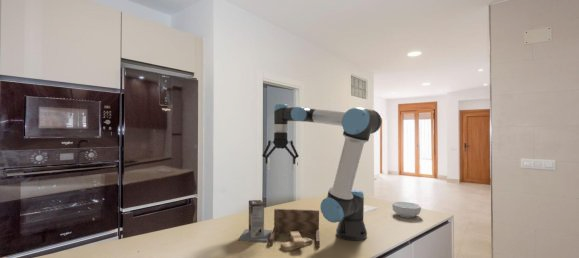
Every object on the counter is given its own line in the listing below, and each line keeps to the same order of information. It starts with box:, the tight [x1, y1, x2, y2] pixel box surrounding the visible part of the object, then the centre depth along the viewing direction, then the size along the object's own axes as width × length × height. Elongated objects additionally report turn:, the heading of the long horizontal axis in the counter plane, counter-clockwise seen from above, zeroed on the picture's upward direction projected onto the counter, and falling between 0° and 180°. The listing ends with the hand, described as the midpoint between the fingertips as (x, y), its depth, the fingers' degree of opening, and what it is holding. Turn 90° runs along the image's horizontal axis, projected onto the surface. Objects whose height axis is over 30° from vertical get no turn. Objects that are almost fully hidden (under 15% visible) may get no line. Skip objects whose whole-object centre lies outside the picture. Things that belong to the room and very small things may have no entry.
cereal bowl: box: [391, 201, 422, 219], centre depth 180 cm, size 17×17×7 cm
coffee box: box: [248, 199, 265, 238], centre depth 143 cm, size 9×6×16 cm
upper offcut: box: [289, 231, 305, 249], centre depth 132 cm, size 13×4×2 cm, turn 10°
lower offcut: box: [280, 236, 313, 252], centre depth 132 cm, size 15×4×2 cm, turn 127°
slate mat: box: [237, 228, 273, 243], centre depth 143 cm, size 14×14×1 cm
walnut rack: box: [268, 208, 321, 249], centre depth 139 cm, size 23×18×12 cm
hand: (280, 169), depth 161 cm, fingers open, 13 cm apart
